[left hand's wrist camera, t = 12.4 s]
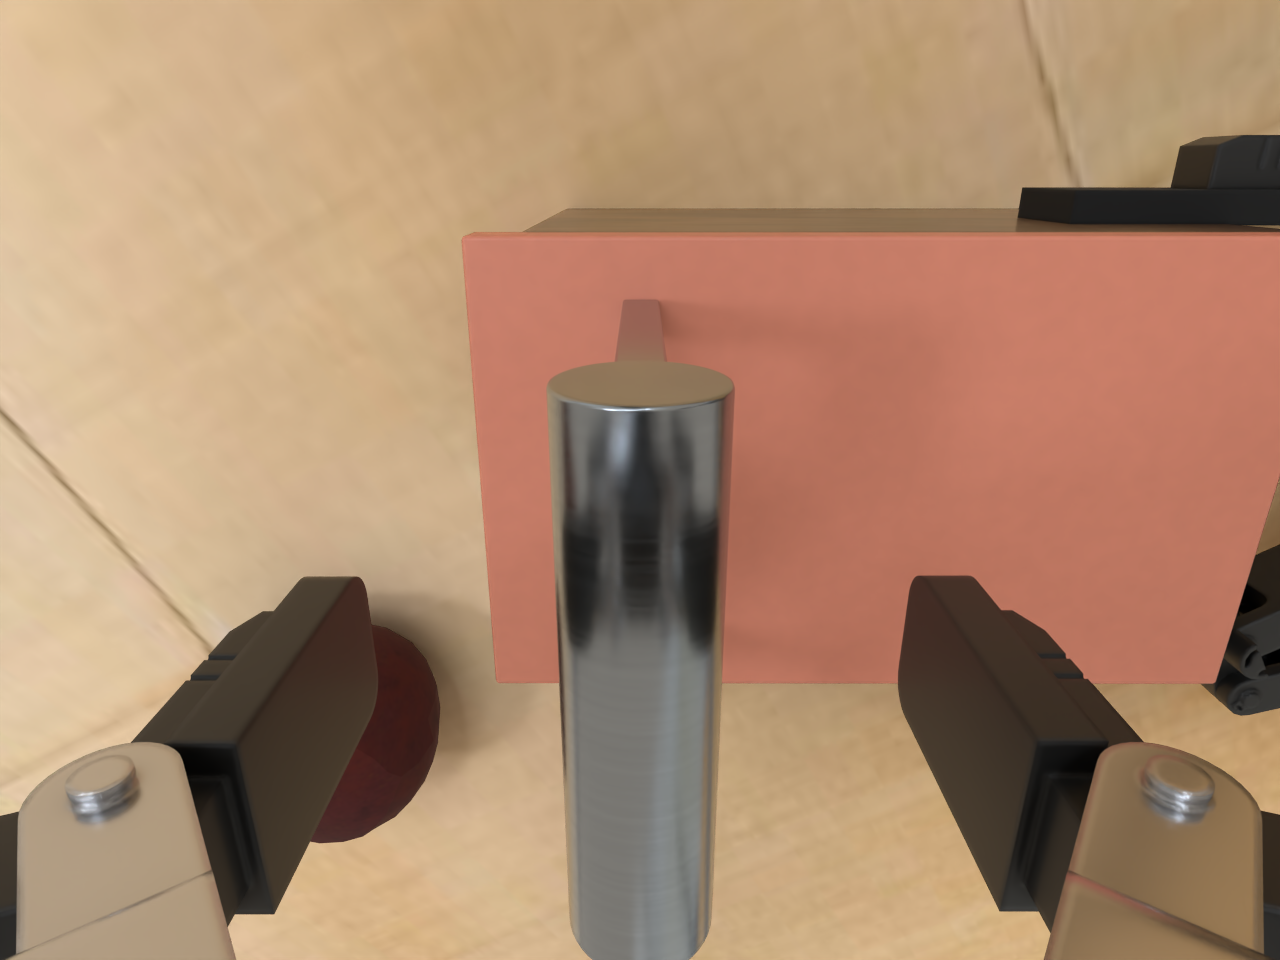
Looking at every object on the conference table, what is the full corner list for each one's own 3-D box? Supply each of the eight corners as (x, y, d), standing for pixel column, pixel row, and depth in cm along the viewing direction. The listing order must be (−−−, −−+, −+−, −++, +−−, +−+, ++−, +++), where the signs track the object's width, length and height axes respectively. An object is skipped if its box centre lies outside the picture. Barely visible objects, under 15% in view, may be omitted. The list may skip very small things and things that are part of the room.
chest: (574, 498, 29) (542, 658, 20) (565, 208, 25) (519, 231, 16) (1008, 498, 29) (1187, 659, 20) (1061, 208, 25) (1313, 231, 16)
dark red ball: (406, 771, 33) (349, 919, 27) (234, 684, 32) (128, 818, 25) (495, 647, 31) (456, 774, 25) (314, 547, 30) (222, 654, 23)
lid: (502, 659, 20) (398, 1029, 11) (470, 232, 16) (278, 301, 7) (1188, 660, 19) (1604, 1032, 11) (1314, 231, 16) (2075, 301, 7)
